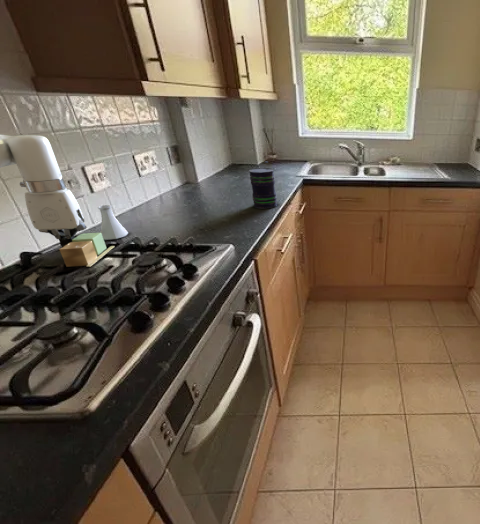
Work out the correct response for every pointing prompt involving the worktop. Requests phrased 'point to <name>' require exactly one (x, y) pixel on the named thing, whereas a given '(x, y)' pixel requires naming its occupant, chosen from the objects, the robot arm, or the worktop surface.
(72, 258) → the beech block
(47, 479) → the worktop surface
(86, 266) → the tape strip
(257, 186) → the storage jar
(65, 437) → the worktop surface
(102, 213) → the flask
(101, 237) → the sage block
